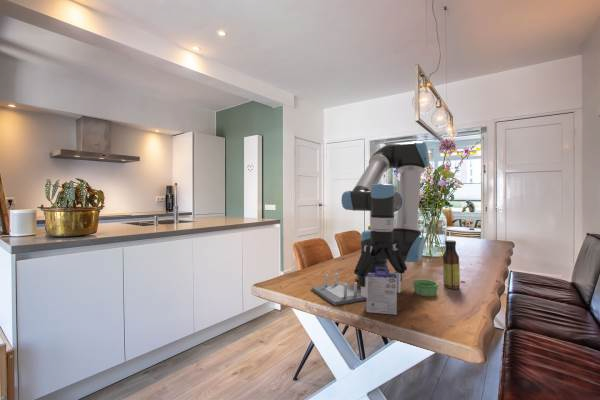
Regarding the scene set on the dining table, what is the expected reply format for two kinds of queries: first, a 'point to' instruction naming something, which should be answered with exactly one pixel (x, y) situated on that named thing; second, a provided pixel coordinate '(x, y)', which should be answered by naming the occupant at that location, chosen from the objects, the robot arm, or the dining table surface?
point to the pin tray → (339, 292)
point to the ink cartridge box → (382, 292)
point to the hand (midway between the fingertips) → (380, 293)
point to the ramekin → (425, 287)
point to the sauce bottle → (451, 266)
